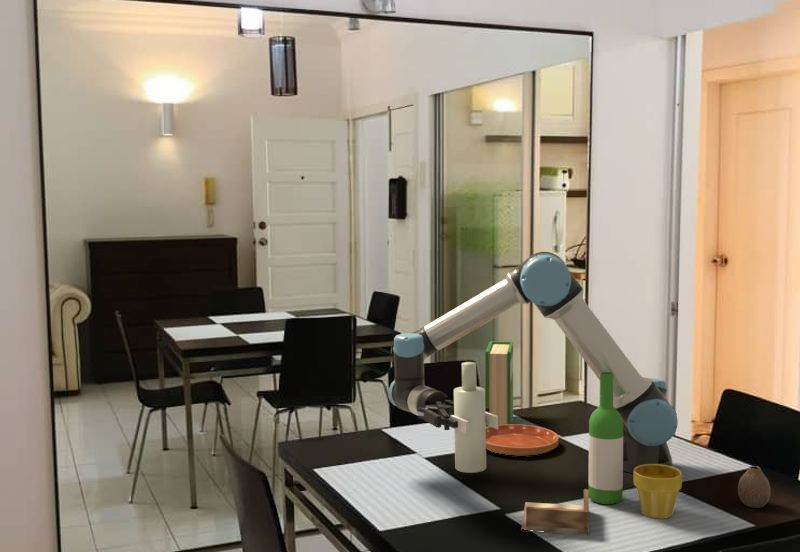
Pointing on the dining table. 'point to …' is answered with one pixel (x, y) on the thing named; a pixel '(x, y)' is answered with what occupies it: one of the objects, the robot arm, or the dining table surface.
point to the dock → (557, 517)
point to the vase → (754, 488)
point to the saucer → (520, 440)
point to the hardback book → (499, 380)
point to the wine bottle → (606, 447)
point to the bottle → (470, 422)
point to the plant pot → (657, 488)
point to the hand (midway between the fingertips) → (482, 424)
